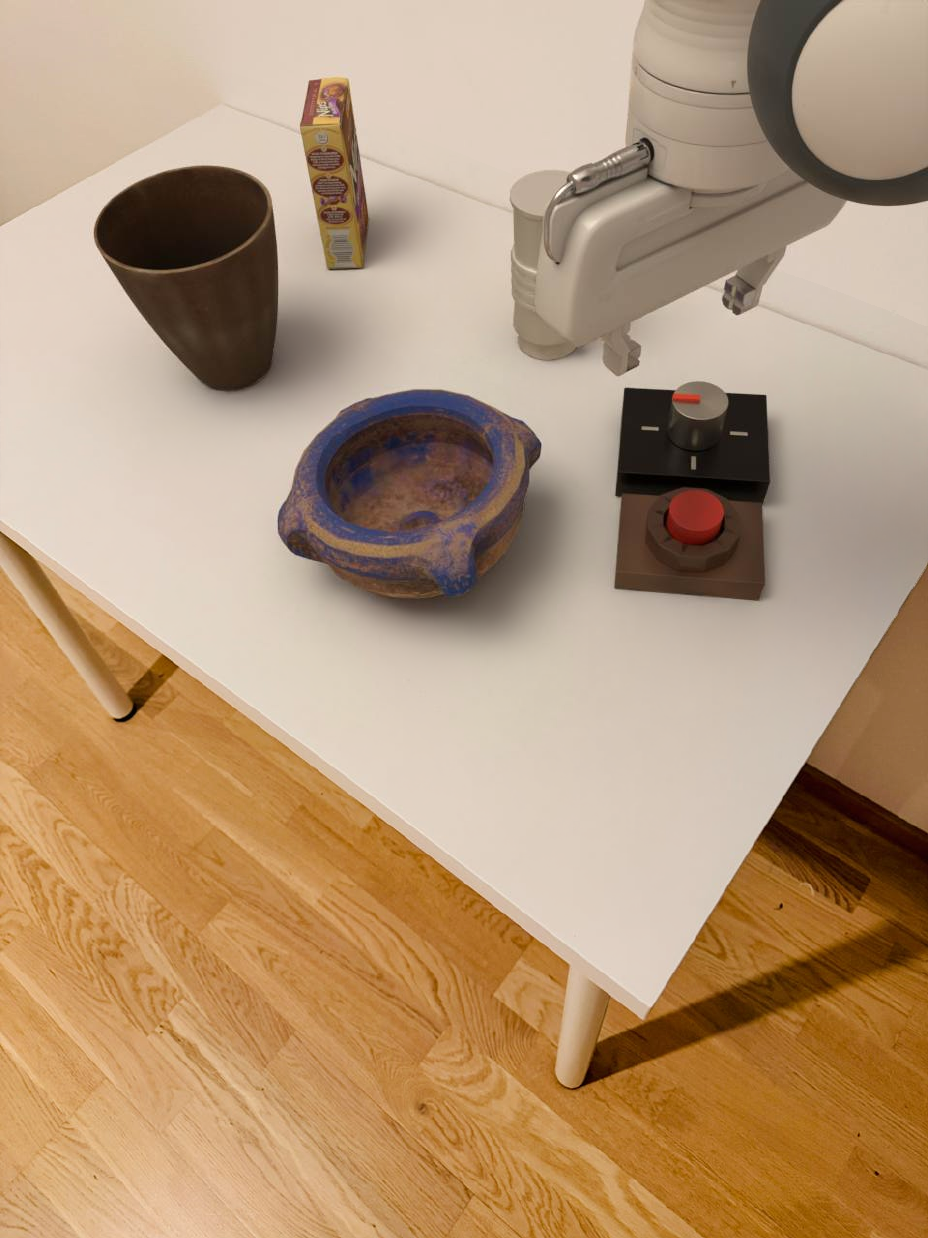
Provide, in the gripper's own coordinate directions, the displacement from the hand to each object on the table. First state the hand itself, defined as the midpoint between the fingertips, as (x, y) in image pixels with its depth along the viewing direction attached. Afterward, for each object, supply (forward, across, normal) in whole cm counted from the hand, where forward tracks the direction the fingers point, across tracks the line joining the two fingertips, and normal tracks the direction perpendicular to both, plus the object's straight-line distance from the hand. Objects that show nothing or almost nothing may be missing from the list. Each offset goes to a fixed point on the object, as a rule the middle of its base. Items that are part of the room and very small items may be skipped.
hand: (680, 336), depth 57 cm
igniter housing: (+20, +1, -3) cm, 20 cm away
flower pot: (+20, -19, +40) cm, 49 cm away
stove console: (+20, +8, +5) cm, 22 cm away
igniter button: (+16, +1, -3) cm, 17 cm away
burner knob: (+17, +8, +5) cm, 20 cm away
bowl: (+20, -16, +10) cm, 27 cm away
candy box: (+20, -1, +50) cm, 54 cm away
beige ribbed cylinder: (+20, +8, +25) cm, 33 cm away
